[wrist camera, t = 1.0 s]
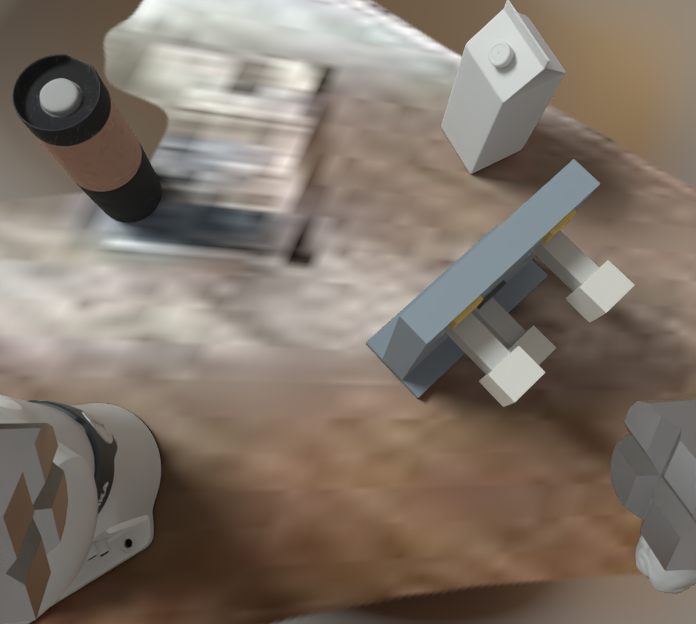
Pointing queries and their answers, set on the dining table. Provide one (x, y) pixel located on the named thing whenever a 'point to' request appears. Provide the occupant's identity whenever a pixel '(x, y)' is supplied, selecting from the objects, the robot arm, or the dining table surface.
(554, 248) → the button top right
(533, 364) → the button top left
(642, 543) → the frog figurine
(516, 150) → the milk carton
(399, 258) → the dining table surface
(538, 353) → the button bottom
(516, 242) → the panel
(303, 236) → the dining table surface
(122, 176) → the travel mug
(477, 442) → the dining table surface
